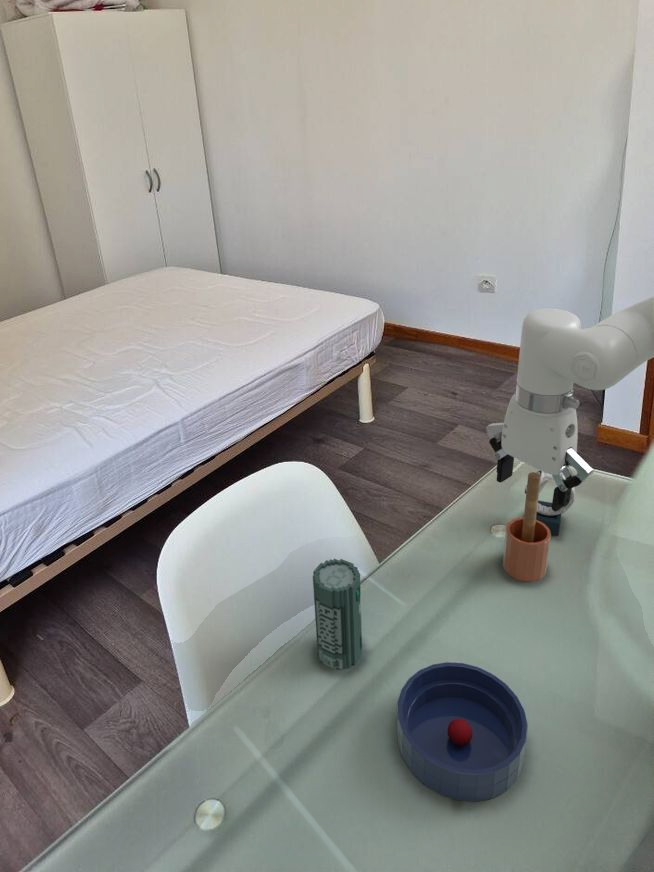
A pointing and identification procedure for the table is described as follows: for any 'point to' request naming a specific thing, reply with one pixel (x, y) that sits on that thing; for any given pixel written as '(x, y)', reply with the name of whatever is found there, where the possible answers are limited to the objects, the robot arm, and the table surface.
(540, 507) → the watch
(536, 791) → the table surface
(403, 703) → the bowl
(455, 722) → the ball
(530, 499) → the stick
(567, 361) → the robot arm
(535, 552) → the crock
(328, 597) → the can
